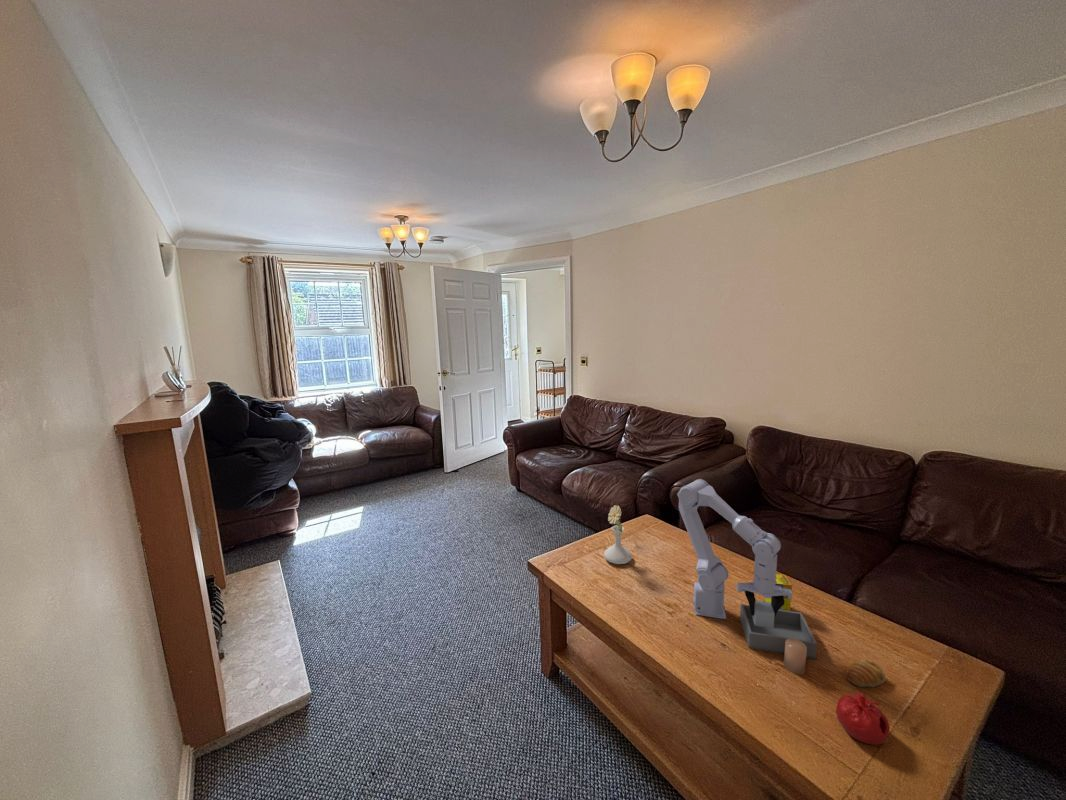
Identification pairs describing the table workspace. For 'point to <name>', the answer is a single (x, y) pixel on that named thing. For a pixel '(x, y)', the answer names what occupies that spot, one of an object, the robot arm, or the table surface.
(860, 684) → the pastry
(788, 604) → the supplement box
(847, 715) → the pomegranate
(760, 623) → the slate-blue block
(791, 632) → the charcoal tote
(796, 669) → the tan rounded cylinder
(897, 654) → the table surface
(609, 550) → the flower in vase
